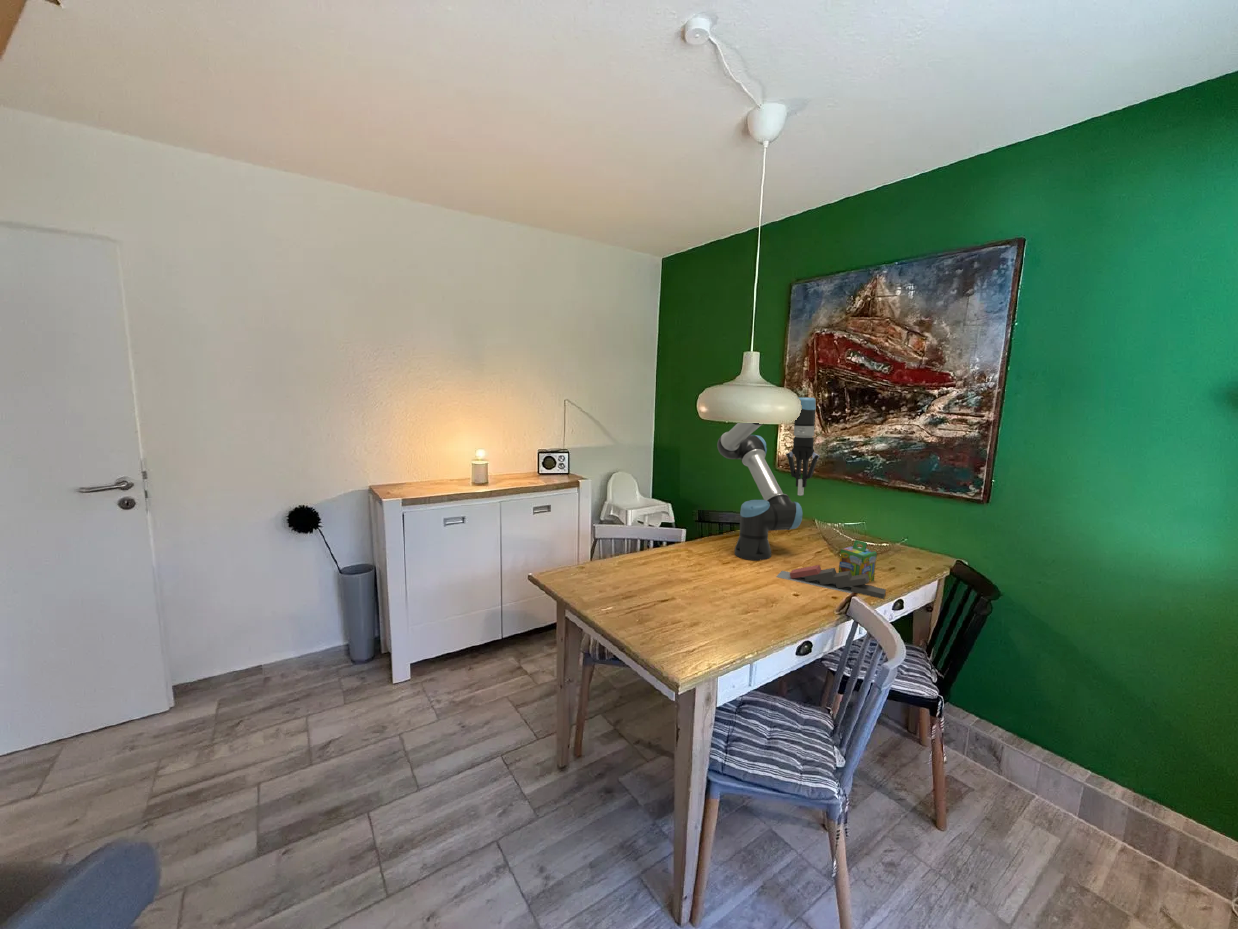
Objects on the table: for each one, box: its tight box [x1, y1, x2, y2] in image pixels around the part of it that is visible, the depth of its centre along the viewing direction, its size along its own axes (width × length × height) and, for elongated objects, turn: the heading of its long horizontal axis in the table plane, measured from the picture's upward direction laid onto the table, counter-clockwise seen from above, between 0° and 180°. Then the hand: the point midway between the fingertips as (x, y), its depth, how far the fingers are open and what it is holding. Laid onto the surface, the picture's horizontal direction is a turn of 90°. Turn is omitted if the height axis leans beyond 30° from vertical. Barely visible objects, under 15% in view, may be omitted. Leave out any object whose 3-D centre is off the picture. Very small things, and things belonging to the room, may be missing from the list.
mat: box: [775, 570, 854, 594], centre depth 173 cm, size 26×8×1 cm, turn 55°
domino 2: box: [804, 567, 837, 582], centre depth 172 cm, size 2×5×10 cm
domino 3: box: [819, 571, 852, 585], centre depth 169 cm, size 2×5×10 cm
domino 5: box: [851, 584, 887, 599], centre depth 163 cm, size 2×5×10 cm
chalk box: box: [838, 539, 878, 584], centre depth 174 cm, size 9×9×15 cm
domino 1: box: [789, 564, 822, 579], centre depth 174 cm, size 2×5×10 cm
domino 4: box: [835, 574, 869, 588], centre depth 166 cm, size 2×5×10 cm
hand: (800, 494), depth 190 cm, fingers closed
